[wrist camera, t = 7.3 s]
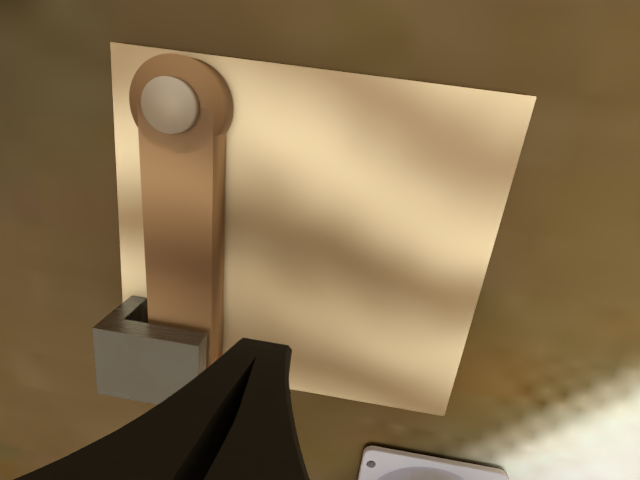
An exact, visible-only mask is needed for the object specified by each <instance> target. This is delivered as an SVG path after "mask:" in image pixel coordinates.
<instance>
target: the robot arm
mask: <svg viewBox="0 0 640 480" xmlns="http://www.w3.org/2000/svg"><path fill="white" fill-rule="evenodd" d="M291 355H292V349H291V348H290V347H289V345H284V344H278V343H272V342H266V341H261V340H255V339H249V338H242V339H240V340H239V341H238V342H237V343H236V344H234V345H233V346H232V347H231V348H230V349H229V350H228V351H226V352H225V353H224V354H223V355H222V356H221V357H219V358H218V359H217V360H216V361H215V362H214V363H212V364H211V365H210V366H209V367H208V368H206V369H205V370H204V371H203V372H201V373H200V374H199V375H198V376H196V377H195V378H194V379H193V380H191V381H190V382H189V383H187V384H186V385H185V386H183V387H182V388H181V389H179V390H178V391H176V392H175V393H174V394H172V395H171V396H169V397H168V398H167V399H165V400H164V401H162V402H161V403H160V404H158V405H157V406H155V407H154V408H152V409H151V410H149V411H148V412H146V413H145V414H143V415H141V416H140V417H138V418H137V419H135V420H133V421H132V422H130V423H128V424H127V425H125V426H123V427H122V428H120V429H118V430H116V431H115V432H113V433H111V434H109V435H107V436H105V437H103V438H101V439H99V440H97V441H95V442H93V443H91V444H90V445H88V446H86V447H84V448H82V449H80V450H78V451H76V452H74V453H72V454H70V455H68V456H66V457H64V458H62V459H60V460H57V461H55V462H53V463H51V464H49V465H46V466H44V467H42V468H40V469H38V470H35V471H33V472H30V473H28V474H26V475H23V476H21V477H19V478H16V479H14V480H309V477H308V473H307V470H306V467H305V464H304V460H303V457H302V453H301V449H300V445H299V441H298V437H297V433H296V428H295V423H294V417H293V412H292V405H291V397H290V388H289V372H290V363H291ZM369 461H373V462H369ZM358 480H509V479H508V476H507V474H506V472H505V471H504V470H502V469H498V468H492V467H487V466H481V465H476V464H471V463H465V462H460V461H454V460H449V459H443V458H438V457H432V456H427V455H422V454H416V453H411V452H405V451H400V450H394V449H389V448H383V447H378V446H368V447H366V448H365V449H364V452H363V457H362V461H361V466H360V471H359V475H358Z"/></svg>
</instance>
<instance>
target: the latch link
mask: <svg viewBox="0 0 640 480" xmlns="http://www.w3.org/2000/svg"><path fill="white" fill-rule="evenodd" d="M129 104H130V110H131V114H132V116H133V119H134V121H135V123H136V126H137V127H138V136H139V155H140V174H141V193H142V211H143V230H144V249H145V268H146V287H147V306H148V323H149V324H155V325H161V326H167V327H173V328H178V329H184V330H190V331H196V332H202V333H207V355H206V368H208V367H209V366H210V365H211V364H212V363H214V362H215V361H216V360H217V359H218V358H219V357H221V356H222V314H223V259H224V204H225V149H226V133H227V131H228V129H229V127H230V124H231V122H232V117H233V100H232V95H231V92H230V89H229V87H228V85H227V83H226V81H225V79H224V78H223V77H222V75H221V74H220V73H219V72H218V71H217V70H216V69H215V68H214V67H212V66H211V65H209V64H208V63H206V62H204V61H202V60H199V59H196V58H192V57H188V56H184V55H180V54H174V53H165V54H160V55H156V56H154V57H152V58H150V59H148V60H147V61H145V62H144V63H143V64H142V65H141V66H140V67H139V68H138V70H137V71H136V73H135V75H134V77H133V79H132V82H131V85H130V91H129Z"/></svg>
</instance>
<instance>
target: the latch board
mask: <svg viewBox="0 0 640 480" xmlns="http://www.w3.org/2000/svg"><path fill="white" fill-rule="evenodd" d="M110 46H111V67H112V88H113V109H114V130H115V150H116V171H117V192H118V213H119V234H120V254H121V275H122V296H123V302H124V301H126V300H127V299H128V298H129V297H130V296H132V295H134V296H140V297H146V298H147V287H146V268H145V249H144V230H143V211H142V193H141V174H140V155H139V136H138V127H137V126H136V123H135V121H134V119H133V116H132V114H131V110H130V104H129V91H130V85H131V82H132V79H133V77H134V75H135V73H136V71H137V70H138V68H139V67H140V66H141V65H142V64H143V63H144V62H145V61H147V60H148V59H150V58H152V57H154V56H156V55H160V54H165V53H174V54H180V55H184V56H188V57H192V58H196V59H199V60H202V61H204V62H206V63H208V64H209V65H211V66H212V67H214V68H215V69H216V70H217V71H218V72H219V73H220V74H221V75H222V77H223V78H224V79H225V81H226V83H227V85H228V87H229V89H230V92H231V95H232V100H233V117H232V122H231V124H230V127H229V129H228V131H227V133H226V149H225V204H224V259H223V314H222V355H223V354H224V353H225V352H226V351H228V350H229V349H230V348H231V347H232V346H233V345H234V344H236V343H237V342H238V341H239V340H240V339H242V338H249V339H255V340H261V341H266V342H272V343H278V344H284V345H289V347H290V348H291V349H292V355H291V363H290V372H289V388H290V389H293V390H299V391H304V392H310V393H316V394H321V395H327V396H333V397H338V398H344V399H350V400H355V401H361V402H367V403H372V404H378V405H383V406H389V407H395V408H400V409H406V410H412V411H417V412H423V413H429V414H434V415H440V416H444V415H445V412H446V408H447V405H448V401H449V398H450V394H451V391H452V387H453V384H454V380H455V377H456V374H457V370H458V367H459V363H460V360H461V356H462V353H463V349H464V346H465V342H466V339H467V335H468V332H469V329H470V325H471V322H472V318H473V315H474V311H475V308H476V304H477V301H478V297H479V294H480V291H481V287H482V284H483V280H484V277H485V273H486V270H487V266H488V263H489V259H490V256H491V253H492V249H493V246H494V242H495V239H496V235H497V232H498V228H499V225H500V221H501V218H502V215H503V211H504V208H505V204H506V201H507V197H508V194H509V190H510V187H511V183H512V180H513V177H514V173H515V170H516V166H517V163H518V159H519V156H520V152H521V149H522V145H523V142H524V139H525V135H526V132H527V128H528V125H529V121H530V118H531V114H532V111H533V107H534V104H535V101H536V97H535V96H527V95H519V94H511V93H504V92H496V91H488V90H480V89H472V88H465V87H457V86H449V85H441V84H433V83H426V82H418V81H410V80H402V79H394V78H387V77H379V76H371V75H363V74H355V73H347V72H340V71H332V70H324V69H316V68H308V67H301V66H293V65H285V64H277V63H269V62H262V61H254V60H246V59H238V58H230V57H223V56H215V55H207V54H199V53H191V52H183V51H176V50H168V49H160V48H152V47H144V46H137V45H129V44H121V43H113V42H110ZM147 309H148V306H147Z"/></svg>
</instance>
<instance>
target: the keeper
mask: <svg viewBox="0 0 640 480" xmlns="http://www.w3.org/2000/svg"><path fill="white" fill-rule="evenodd" d="M93 341H94V354H95V366H96V379H97V392H98V394H103V395H109V396H114V397H119V398H125V399H130V400H136V401H141V402H147V403H152V404H160V403H161V402H162V401H164V400H165V399H167V398H168V397H169V396H171V395H172V394H174V393H175V392H176V391H178V390H179V389H181V388H182V387H183V386H185V385H186V384H187V383H189V382H190V381H191V380H193V379H194V378H195V377H196V376H198V375H199V374H200V373H201V372H203V371H204V370H205V369H206V355H207V333H202V332H196V331H190V330H184V329H178V328H173V327H167V326H161V325H155V324H149V323H148V309H147V298H146V297H140V296H134V295H132V296H130V297H129V298H128V299H127V300H126V301H124V302H123V303H122V304H121V305H119V306H118V307H117V308H116V309H115V310H113V311H112V312H111V313H110V314H109V315H107V316H106V317H105V318H104V319H103V320H101V321H100V322H99V323H98V324H97V325H95V326H94V327H93Z"/></svg>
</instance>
